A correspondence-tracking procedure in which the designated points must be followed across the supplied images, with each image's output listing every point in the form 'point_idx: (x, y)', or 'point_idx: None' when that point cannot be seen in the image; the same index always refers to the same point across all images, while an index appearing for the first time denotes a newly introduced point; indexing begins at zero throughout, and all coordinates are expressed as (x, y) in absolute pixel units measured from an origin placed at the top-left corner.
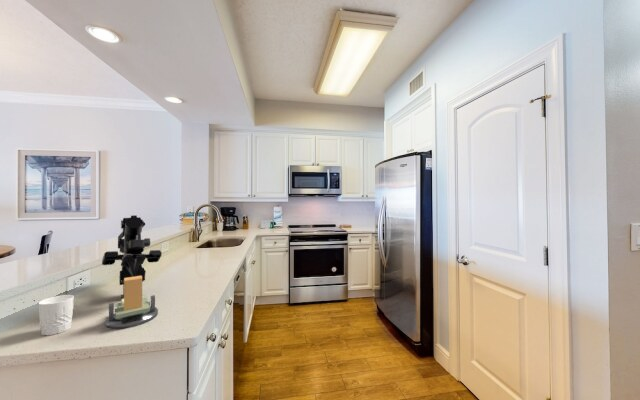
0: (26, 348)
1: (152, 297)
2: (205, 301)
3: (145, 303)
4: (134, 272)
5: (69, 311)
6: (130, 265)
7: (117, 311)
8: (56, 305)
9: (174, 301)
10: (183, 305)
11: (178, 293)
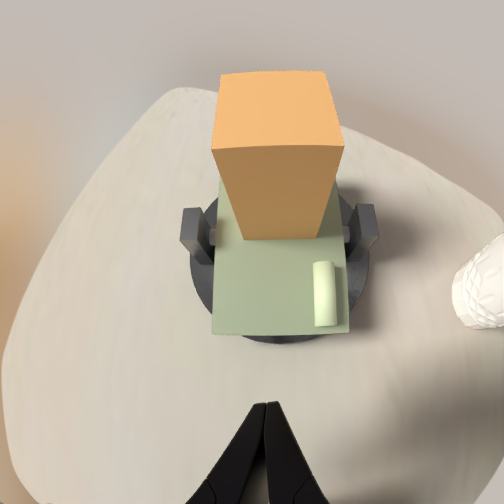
0: (482, 214)
1: (194, 210)
2: (60, 261)
3: (228, 223)
4: (262, 424)
5: (485, 259)
6: (311, 496)
7: (333, 188)
8: None
9: (122, 344)
10: (110, 272)
11: (99, 430)
